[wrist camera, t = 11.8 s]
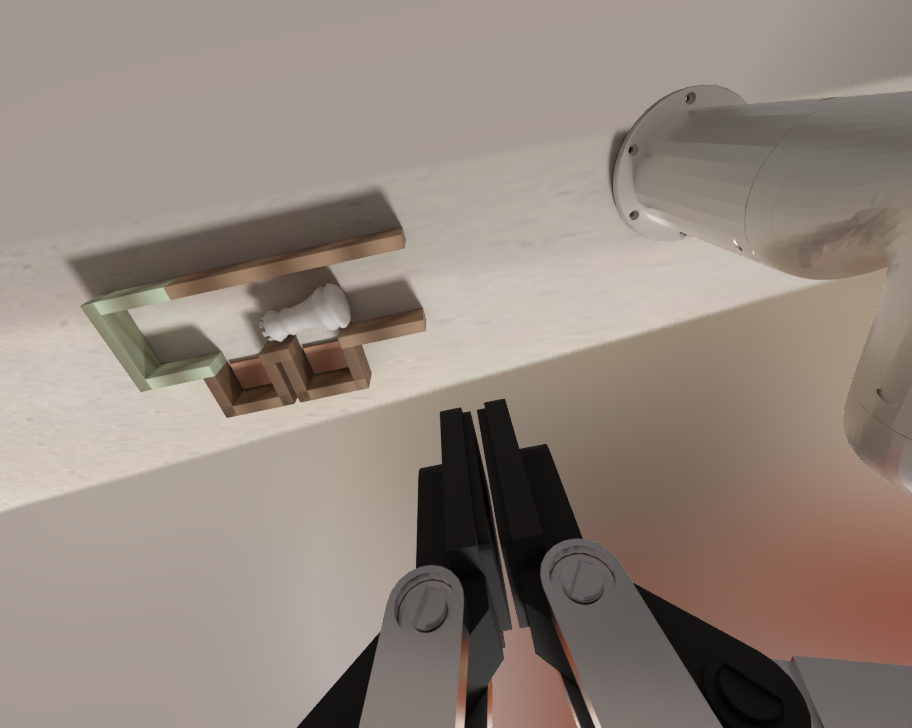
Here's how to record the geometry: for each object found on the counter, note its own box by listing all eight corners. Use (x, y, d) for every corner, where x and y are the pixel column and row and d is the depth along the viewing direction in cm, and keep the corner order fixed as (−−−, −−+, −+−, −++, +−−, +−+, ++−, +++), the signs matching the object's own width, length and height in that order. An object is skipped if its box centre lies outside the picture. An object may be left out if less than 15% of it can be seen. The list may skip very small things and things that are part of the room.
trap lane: (402, 227, 38) (401, 234, 36) (436, 359, 46) (437, 373, 43) (102, 294, 39) (79, 305, 37) (181, 413, 46) (167, 430, 44)
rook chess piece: (344, 285, 42) (275, 309, 43) (323, 277, 37) (246, 304, 38) (357, 328, 41) (286, 350, 43) (336, 325, 37) (259, 350, 38)
